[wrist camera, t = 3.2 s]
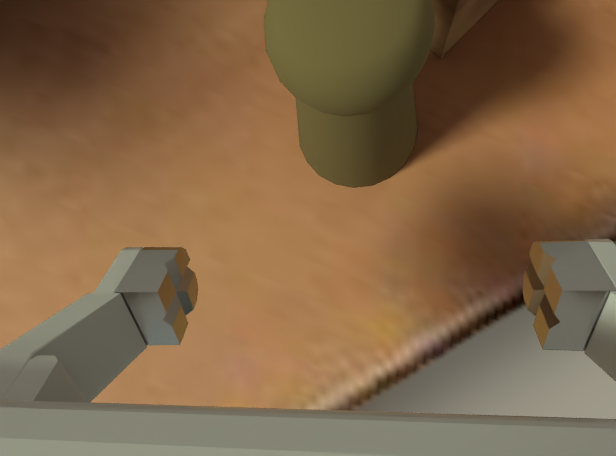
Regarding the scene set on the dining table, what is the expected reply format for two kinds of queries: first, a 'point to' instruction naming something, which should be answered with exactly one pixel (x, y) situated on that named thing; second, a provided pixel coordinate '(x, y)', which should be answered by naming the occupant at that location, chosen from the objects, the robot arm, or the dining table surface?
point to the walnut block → (455, 21)
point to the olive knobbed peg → (352, 80)
